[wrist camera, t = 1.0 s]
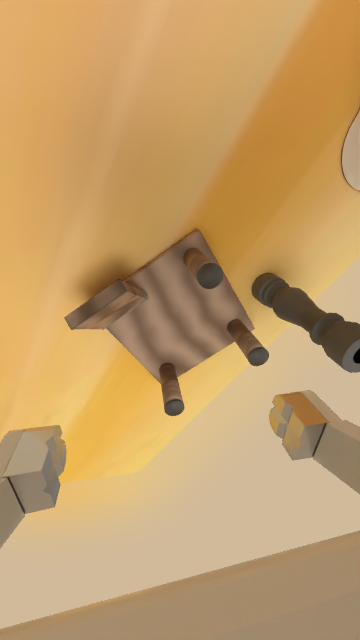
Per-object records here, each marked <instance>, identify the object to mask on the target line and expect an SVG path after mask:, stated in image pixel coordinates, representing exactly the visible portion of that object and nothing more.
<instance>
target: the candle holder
mask: <svg viewBox="0 0 360 640" xmlns="http://www.w3.org/2000/svg"><path fill="white" fill-rule="evenodd" d="M252 294H253V296H254V297H255V298H256V299H257V300H258V301H259V302H260V303H262V304H263V305H265V306H268V307H270V308H273V310H274V312H275V314H276V315H277V316H278V317H279V318H281V319H283V320H285V321H288V322H291V323H293V324H296V325H298V326H301V327H302V328H304V329H305V330H306V331H308V332H309V333H310V338H311V339H312V341H313V342H314V343H316V344H318V345H322V347H323V348H324V351H325V352H326V354H327V356H328V357H330V358H331V359H332V360H333V361H335V362H336V363H337V364H338V365H339V366H341V367H342V368H343V369H344V370H346V371H348V372H360V324H358V323H356V322H355V323H354V322H347V321H344V318H343V317H342V316H340V315H339V314H337V313H326V312H324V311H322V310H321V309H319V308H318V307H317V306H316V305H315V303H314V302H313V301H312V300H311V299H310V298H309V297H308V295H307V294H306V293H305V292H304V291H302V290H301V289H299V288H292V287H289V285H288V284H287V283H286V282H285V281H284V280H283V279H281V278H279V277H277V276H276V275H274V274H272V273H265V274H262V275H260V276H259V277H258V278H256V280H255V281H254V283H253V286H252Z"/></svg>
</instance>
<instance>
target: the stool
mask: <svg viewBox="0 0 360 640" xmlns="http://www.w3.org/2000/svg"><path fill="white" fill-rule="evenodd" d="M123 282H125V283H127V284H130V285H132V286H134V287H136V288H138V289H140V290H144V292H145V293H146V294H147V296H148V298H149V299H148V300H146V301H145V302H143V303H142V304H140V305H139V306H137V307H136V308H134V309H133V310H132V311H130V312H129V313H127V314H126V315H124V316H123V317H121V318H120V319H118V320H117V321H115V322H114V323H113V324H111V325H110V326H108V327H107V330H108V331H109V332H110V333H111V334H112V335H113V336H114V337H115V338H116V339H117V340H118V341H119V342H120V343H121V344H122V345H123V346H124V347H125V348H126V349H127V350H128V351H129V352H130V353H131V354H132V355H133V356H134V357H135V358H136V359H137V360H138V361H139V362H140V363H141V364H142V365H143V366H144V367H145V368H146V369H147V370H148V371H149V372H150V373H151V374H152V375H153V376H154V377H155V378H156V379H157V380H158V381H159V382H160V383H161V386H162V393H163V400H164V409H165V413H166V414H167V415H170V416H176V415H179V414H181V413H182V412H183V410H184V403H183V400H182V396H181V392H180V387H179V383H178V379H177V377H179V376H180V375H182V374H183V373H185V372H187V371H188V370H190V369H191V368H193V367H195V366H196V365H198V364H199V363H201V362H203V361H204V360H206V359H207V358H209V357H211V356H212V355H214V354H215V353H217V352H219V351H220V350H222V349H223V348H225V347H227V346H228V345H230V344H231V343H233V342H236V343H237V345H238V346H239V348H240V349H241V350H242V352H243V353H244V355H245V356H246V358H247V359H248V361H249V362H250V364H251V365H253V366H259V365H262V364H264V363H265V362H266V361H267V360H268V357H269V353H268V351H267V350H266V349H265V348H264V347H263V346H262V344H261V343H260V342H259V341H258V340H257V339H256V338H255V336H254V335H253V334H252V333H251V331H252V330H254V329H255V328H254V326H253V325H252V323H251V321H250V319H249V317H248V316H247V314H246V312H245V310H244V308H243V307H242V305H241V303H240V301H239V300H238V298H237V296H236V294H235V292H234V291H233V289H232V287H231V285H230V284H229V282H228V280H227V278H226V276H225V275H224V273H223V271H222V269H221V267H220V266H219V264H218V262H217V260H216V259H215V257H214V255H213V253H212V252H211V250H210V248H209V246H208V244H207V243H206V241H205V239H204V237H203V236H202V234H201V232H200V230H198V229H196V230H195V231H193V232H192V233H190V234H189V235H187V236H186V237H185V238H183V239H182V240H180V241H179V242H178V243H176V244H175V245H173V246H172V247H171V248H169V249H168V250H166V251H165V252H163V253H162V254H161V255H159V256H158V257H156V258H155V259H154V260H152V261H151V262H149V263H148V264H147V265H145V266H144V267H142V268H141V269H139V270H138V271H137V272H135V273H134V274H132V275H131V276H130V277H128V278H127V279H125V280H124V281H123Z"/></svg>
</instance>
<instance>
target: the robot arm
mask: <svg viewBox="0 0 360 640" xmlns="http://www.w3.org/2000/svg"><path fill="white" fill-rule="evenodd" d="M342 167H343V172H344V175H345V178H346V180H347V182H348V183H349V184H350V185H351V186H352V187H353V188H354V189H356V190H358V191H360V110H359V112H358V114H357V116H356V118H355V120H354V121H353V123H352V125H351V127H350V129H349V131H348V134H347V136H346V139H345V143H344V147H343V154H342ZM273 404H274V407H273V408H272V409H271V410H270V414H269V420H270V425H271V427H272V429H273V431H274V432H275V434H276V435H277V436H279V437H280V438H282V439H283V440H282V445H283V446H284V448H285V449H286V451H287V453H288V454H289V456H290V457H291V459H292V460H298V459H304V458H310V457H313V459H314V460H316V461H317V462H318V463H320V464H321V465H322V466H323V467H325V468H326V469H328V470H329V471H330V472H331V473H333V474H334V475H335V476H337V477H338V478H339V479H340V480H342V481H343V482H345V483H346V484H347V485H348V486H350V487H351V488H353V489H354V490H355V491H356V492H358V493H359V494H360V427H359V426H357V425H355V424H353V423H351V422H348V421H346V420H344V421H342V420H341V419H340V418H339V417H338V416H337V415H336V414H335V413H334V412H333V411H332V410H331V409H330V408H329V407H328V406H327V405H326V404H325V403H324V402H323V401H322V400H321V399H320V398H319V397H318V396H317V395H316V394H315V393H314V392H313V391H310V390H307V391H300V392H293V393H286V394H280V395H276V396H275V397H274V398H273ZM61 434H62V430H61V427H60V426H59V425H55V426H46V427H37V428H28V429H22V430H13V431H9V432H8V433H7V434H6V435H5V436H4V438H3V440H2V442H1V443H0V548H1V547H2V546H3V544H4V543H5V541H6V540H7V539H8V538H9V536H10V535H11V534H12V532H13V531H14V530H15V528H16V527H17V526H18V524H19V523H20V521H21V520H22V519H23V518H24V516H25V515H24V514H26V513H31V512H35V511H40V510H44V509H49V508H53V507H55V504H56V500H57V496H58V492H59V488H60V482H59V479H58V477H59V476H60V475H61V473H62V472H63V471H64V467H65V463H66V445H65V441H63V440H62V439H60V438H61ZM0 640H360V531H357V532H353V533H349V534H346V535H342V536H339V537H335V538H331V539H328V540H324V541H320V542H317V543H313V544H309V545H306V546H302V547H298V548H295V549H291V550H287V551H284V552H280V553H276V554H273V555H269V556H266V557H262V558H258V559H254V560H251V561H247V562H244V563H240V564H236V565H233V566H229V567H225V568H222V569H218V570H214V571H211V572H207V573H203V574H200V575H196V576H193V577H189V578H185V579H182V580H178V581H174V582H171V583H167V584H163V585H160V586H156V587H152V588H149V589H145V590H142V591H138V592H134V593H130V594H127V595H123V596H119V597H116V598H112V599H108V600H105V601H101V602H98V603H94V604H90V605H87V606H83V607H80V608H76V609H72V610H69V611H65V612H61V613H57V614H54V615H51V616H47V617H43V618H39V619H36V620H32V621H28V622H25V623H21V624H17V625H14V626H10V627H6V628H3V629H0Z"/></svg>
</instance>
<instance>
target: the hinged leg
mask: <svg viewBox="0 0 360 640" xmlns="http://www.w3.org/2000/svg"><path fill="white" fill-rule="evenodd" d="M148 299H149V298H148V296H147V294H146V293H145V292H144V290H140V289H138V288H136V287H134V286H132V285H130V284H127V283H125V282H123V281H121V280H120V279H118V280H116V281H115V282H114V283H112V284H111V285H109V286H108V287H107V288H105V289H104V290H102V291H101V292H100V293H98V294H97V295H95V296H94V297H93V298H91V299H90V300H88V301H87V302H86V303H84V304H83V305H81V306H80V307H79V308H77V309H76V310H74V311H73V312H72V313H70V314H69V315H67V316H66V317H64V318H65V320H66V322H67V323H68V325H69V327H70V329H71V330H73V329H103V330H104V329H105V328H107V327H108V326H110V325H111V324H113V323H114V322H115V321H117V320H118V319H120V318H121V317H123V316H124V315H126V314H127V313H129V312H130V311H132V310H133V309H134V308H136V307H137V306H139V305H140V304H142V303H143V302H145V301H146V300H148Z"/></svg>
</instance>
